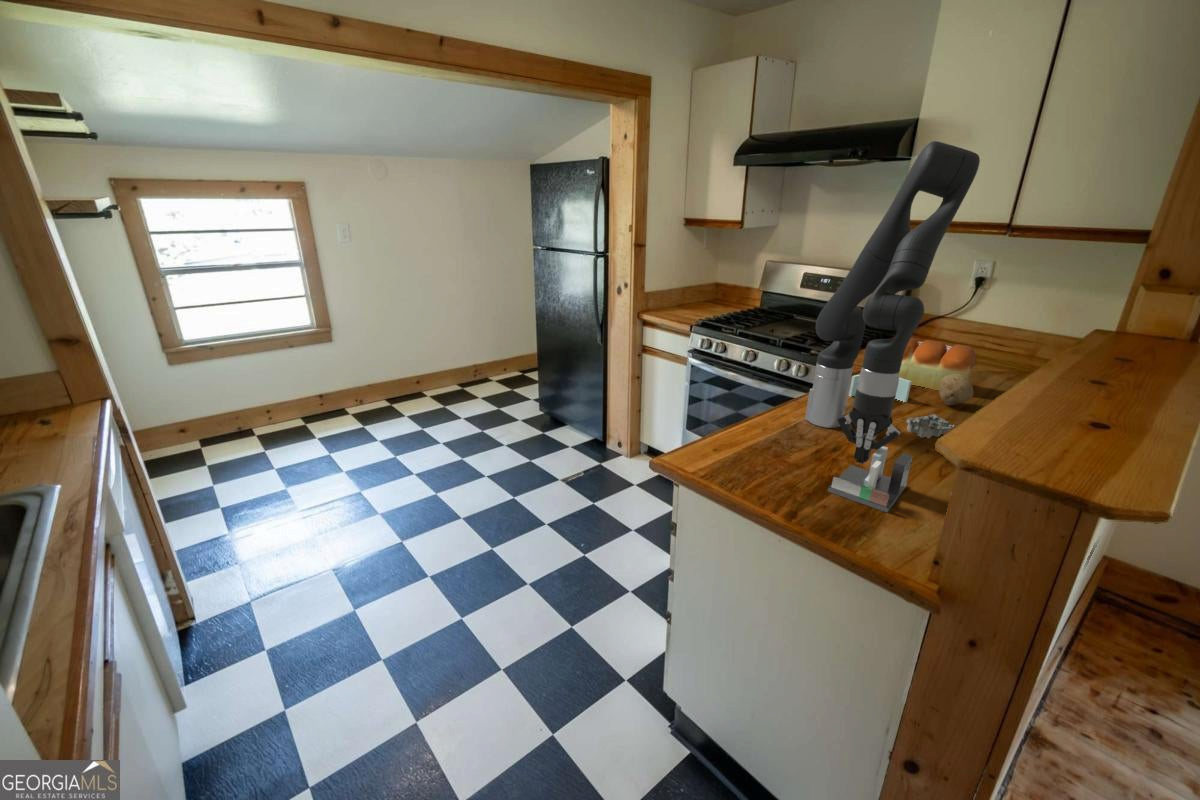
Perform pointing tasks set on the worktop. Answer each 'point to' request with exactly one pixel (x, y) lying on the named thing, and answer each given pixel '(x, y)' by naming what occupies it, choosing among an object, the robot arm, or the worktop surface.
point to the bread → (935, 362)
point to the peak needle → (874, 474)
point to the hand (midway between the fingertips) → (860, 461)
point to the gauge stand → (884, 491)
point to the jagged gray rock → (928, 426)
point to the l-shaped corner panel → (900, 394)
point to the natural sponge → (955, 389)
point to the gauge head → (877, 456)
